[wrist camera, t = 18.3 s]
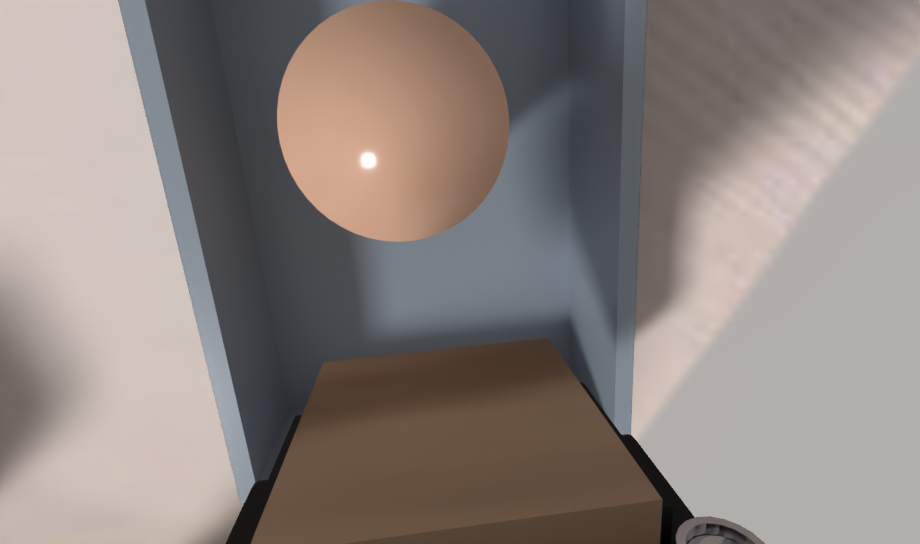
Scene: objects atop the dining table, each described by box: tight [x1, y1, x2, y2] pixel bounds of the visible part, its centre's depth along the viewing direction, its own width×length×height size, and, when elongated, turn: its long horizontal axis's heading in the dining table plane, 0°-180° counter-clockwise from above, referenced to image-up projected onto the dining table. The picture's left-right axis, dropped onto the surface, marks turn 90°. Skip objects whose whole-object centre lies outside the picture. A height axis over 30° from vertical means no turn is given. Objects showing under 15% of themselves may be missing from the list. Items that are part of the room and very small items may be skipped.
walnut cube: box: [251, 338, 663, 544], centre depth 9 cm, size 5×5×5 cm
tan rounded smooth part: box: [277, 0, 509, 242], centre depth 13 cm, size 5×5×7 cm
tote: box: [118, 0, 647, 503], centre depth 15 cm, size 19×13×5 cm
